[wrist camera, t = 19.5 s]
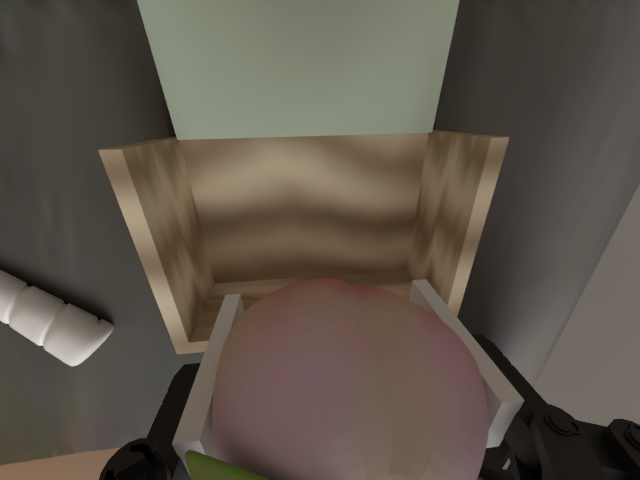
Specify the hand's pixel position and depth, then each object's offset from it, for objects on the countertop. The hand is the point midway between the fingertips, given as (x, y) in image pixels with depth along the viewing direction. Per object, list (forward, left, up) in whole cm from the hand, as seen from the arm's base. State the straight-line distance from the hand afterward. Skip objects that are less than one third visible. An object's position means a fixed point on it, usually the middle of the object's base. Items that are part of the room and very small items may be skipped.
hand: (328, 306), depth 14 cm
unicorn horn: (-6, +32, -15) cm, 36 cm away
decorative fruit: (0, 0, 0) cm, 0 cm away
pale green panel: (+8, 0, -13) cm, 15 cm away
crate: (0, 0, -14) cm, 14 cm away
